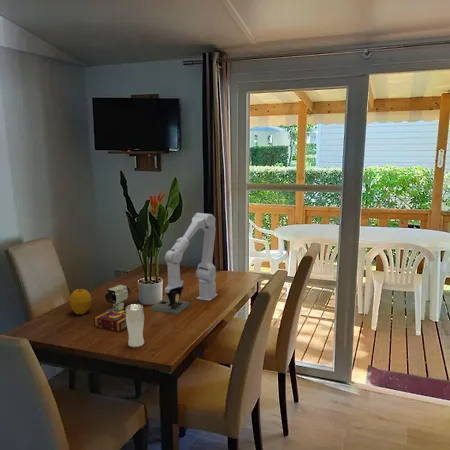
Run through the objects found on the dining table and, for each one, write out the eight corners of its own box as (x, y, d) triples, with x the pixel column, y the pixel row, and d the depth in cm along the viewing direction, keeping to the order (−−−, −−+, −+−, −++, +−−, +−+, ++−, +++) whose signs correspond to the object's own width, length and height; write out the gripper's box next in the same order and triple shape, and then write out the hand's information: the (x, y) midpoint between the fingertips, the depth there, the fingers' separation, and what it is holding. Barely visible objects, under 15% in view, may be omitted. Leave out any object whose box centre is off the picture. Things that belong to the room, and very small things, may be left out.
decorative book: (120, 333, 166) (120, 321, 165) (91, 326, 172) (90, 315, 172) (137, 323, 176) (137, 312, 175) (109, 317, 182) (108, 307, 182)
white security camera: (105, 312, 187) (104, 288, 185) (124, 304, 197) (122, 281, 195) (114, 314, 185) (112, 290, 183) (132, 306, 194) (130, 283, 192)
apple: (96, 310, 191) (94, 286, 189) (84, 318, 181) (82, 293, 179) (78, 308, 193) (77, 285, 191) (66, 316, 184) (64, 291, 182)
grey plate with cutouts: (164, 301, 201) (164, 298, 200) (189, 305, 195) (189, 301, 195) (151, 310, 190) (151, 306, 189) (177, 314, 184) (177, 310, 184)
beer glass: (138, 349, 151) (136, 311, 148) (123, 346, 153) (121, 309, 151) (148, 341, 157) (147, 305, 155) (133, 338, 160) (131, 303, 157)
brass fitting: (173, 303, 194) (173, 291, 193) (180, 304, 192) (180, 292, 191) (169, 306, 190) (169, 294, 189) (176, 307, 189) (176, 295, 188)
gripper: (173, 280, 181) (174, 309, 183) (188, 272, 194) (189, 298, 196) (160, 278, 183) (161, 307, 186) (176, 270, 196) (176, 297, 199)
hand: (174, 302), depth 191 cm, fingers closed on brass fitting, 4 cm apart
